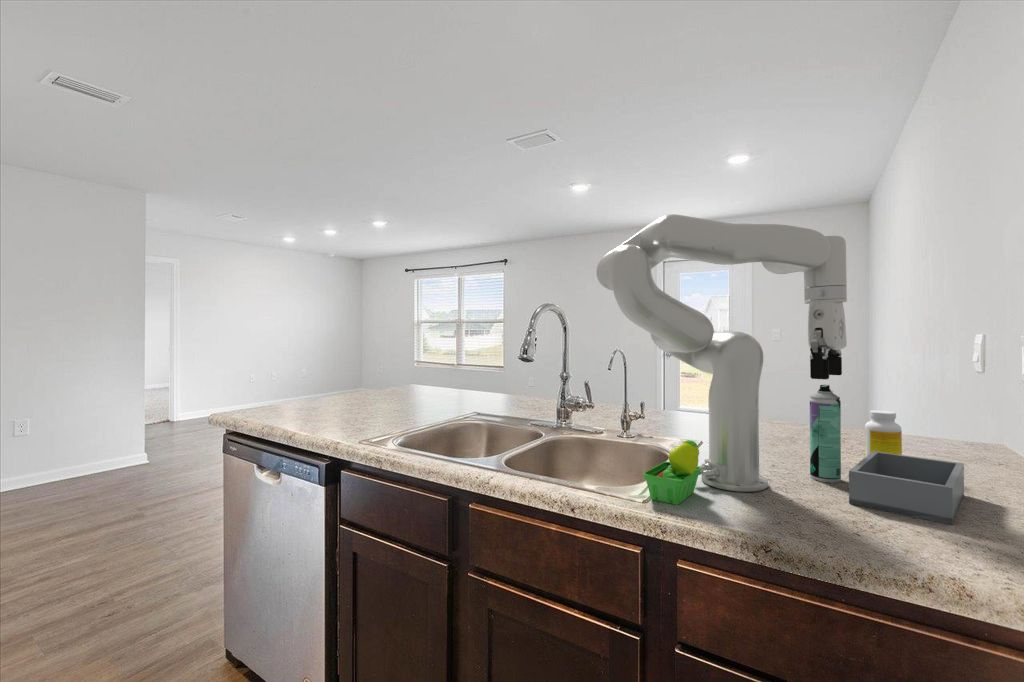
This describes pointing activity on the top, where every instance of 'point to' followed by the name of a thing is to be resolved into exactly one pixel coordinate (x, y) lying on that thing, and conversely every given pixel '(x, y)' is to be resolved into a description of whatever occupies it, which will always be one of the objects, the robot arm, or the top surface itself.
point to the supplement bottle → (883, 433)
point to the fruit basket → (675, 475)
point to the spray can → (825, 436)
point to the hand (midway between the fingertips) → (826, 376)
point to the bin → (908, 486)
